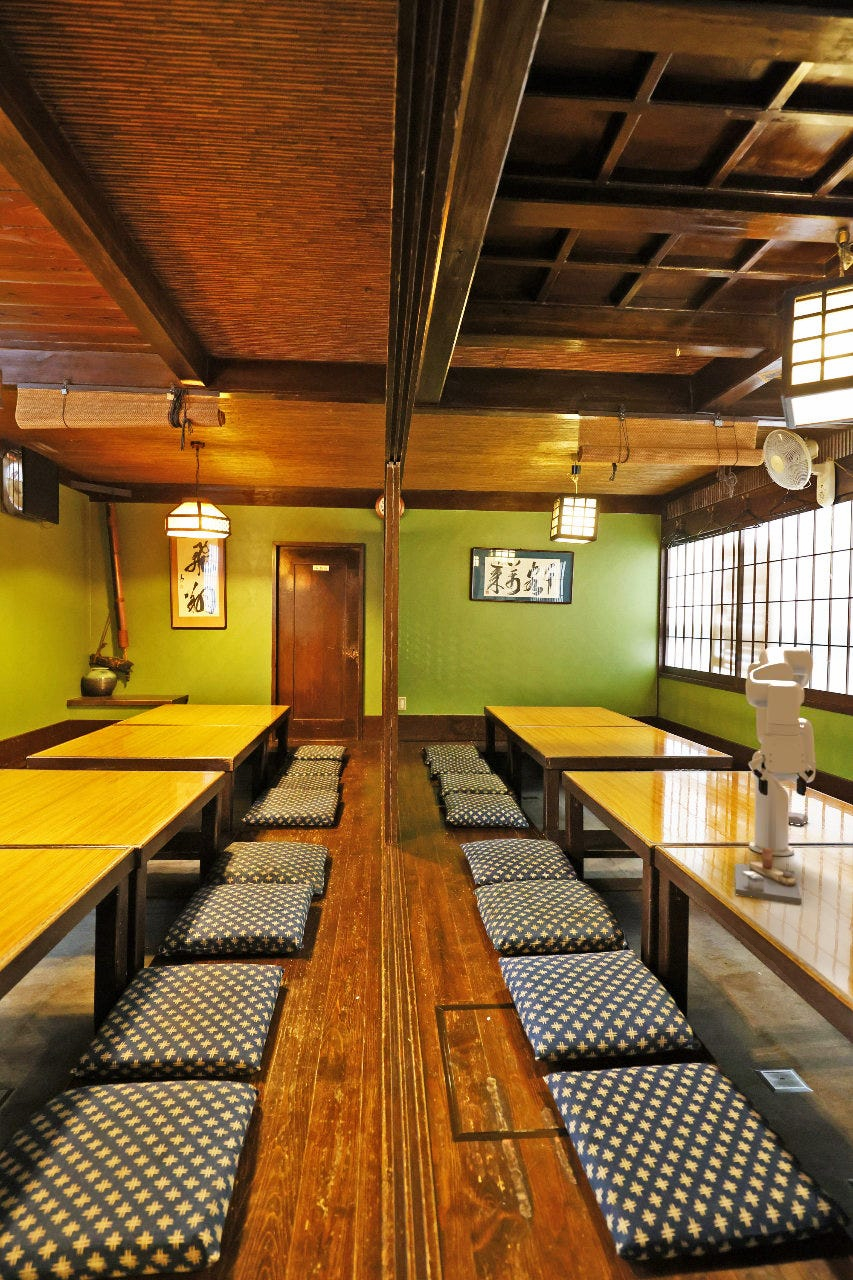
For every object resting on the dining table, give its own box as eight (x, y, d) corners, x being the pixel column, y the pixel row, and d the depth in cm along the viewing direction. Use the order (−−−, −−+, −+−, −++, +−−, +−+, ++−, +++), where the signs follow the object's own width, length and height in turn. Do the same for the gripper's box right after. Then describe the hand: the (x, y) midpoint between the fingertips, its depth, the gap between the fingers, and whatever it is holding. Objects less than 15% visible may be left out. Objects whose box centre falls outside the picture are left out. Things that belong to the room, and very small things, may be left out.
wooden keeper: (753, 883, 180) (753, 871, 180) (763, 890, 175) (763, 877, 175) (742, 883, 180) (742, 871, 180) (752, 890, 175) (752, 878, 175)
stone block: (775, 820, 255) (766, 820, 248) (776, 807, 255) (767, 806, 249) (810, 828, 246) (801, 828, 239) (811, 815, 247) (803, 814, 240)
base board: (735, 868, 196) (735, 863, 196) (793, 876, 190) (793, 870, 190) (735, 894, 176) (735, 889, 176) (801, 904, 170) (801, 898, 170)
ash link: (799, 884, 179) (799, 858, 179) (786, 885, 178) (786, 860, 178) (759, 866, 192) (759, 843, 192) (747, 868, 191) (748, 844, 191)
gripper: (808, 728, 182) (808, 791, 183) (743, 727, 183) (743, 790, 183) (823, 732, 175) (823, 798, 175) (755, 732, 176) (755, 797, 176)
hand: (782, 794), depth 179 cm, fingers open, 9 cm apart
